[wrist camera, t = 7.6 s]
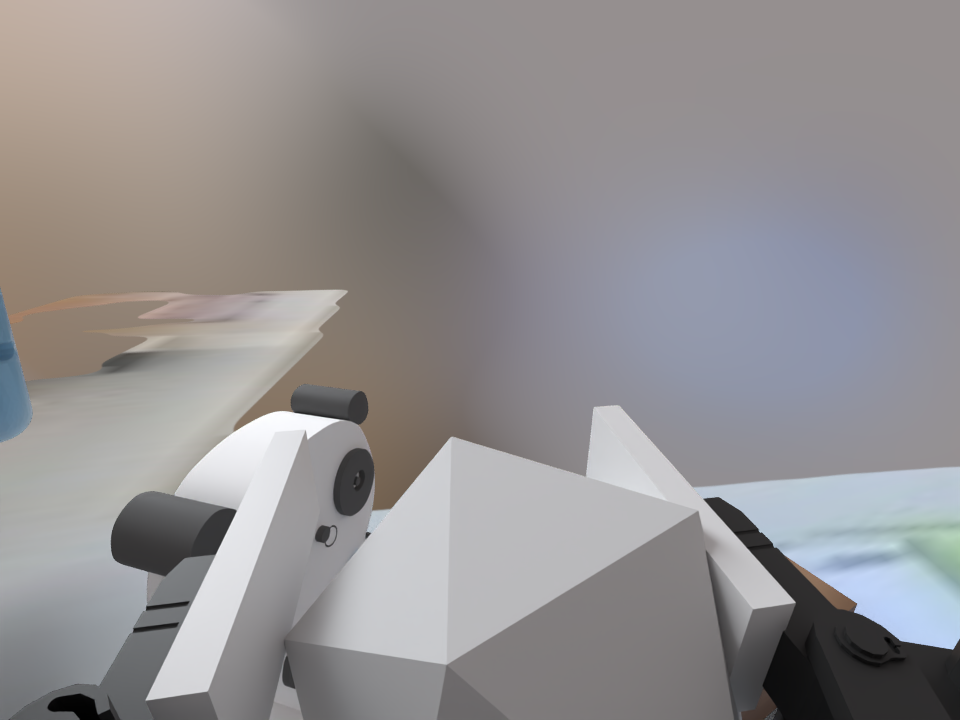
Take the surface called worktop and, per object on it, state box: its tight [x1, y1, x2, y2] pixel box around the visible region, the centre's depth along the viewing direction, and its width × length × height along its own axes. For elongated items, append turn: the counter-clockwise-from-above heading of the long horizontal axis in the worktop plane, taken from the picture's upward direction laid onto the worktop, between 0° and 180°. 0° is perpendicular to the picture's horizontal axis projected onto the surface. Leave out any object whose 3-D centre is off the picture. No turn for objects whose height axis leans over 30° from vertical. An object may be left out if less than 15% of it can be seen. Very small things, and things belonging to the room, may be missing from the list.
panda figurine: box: [111, 384, 375, 720], centre depth 23 cm, size 12×11×15 cm
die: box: [284, 437, 742, 720], centre depth 10 cm, size 8×9×10 cm
